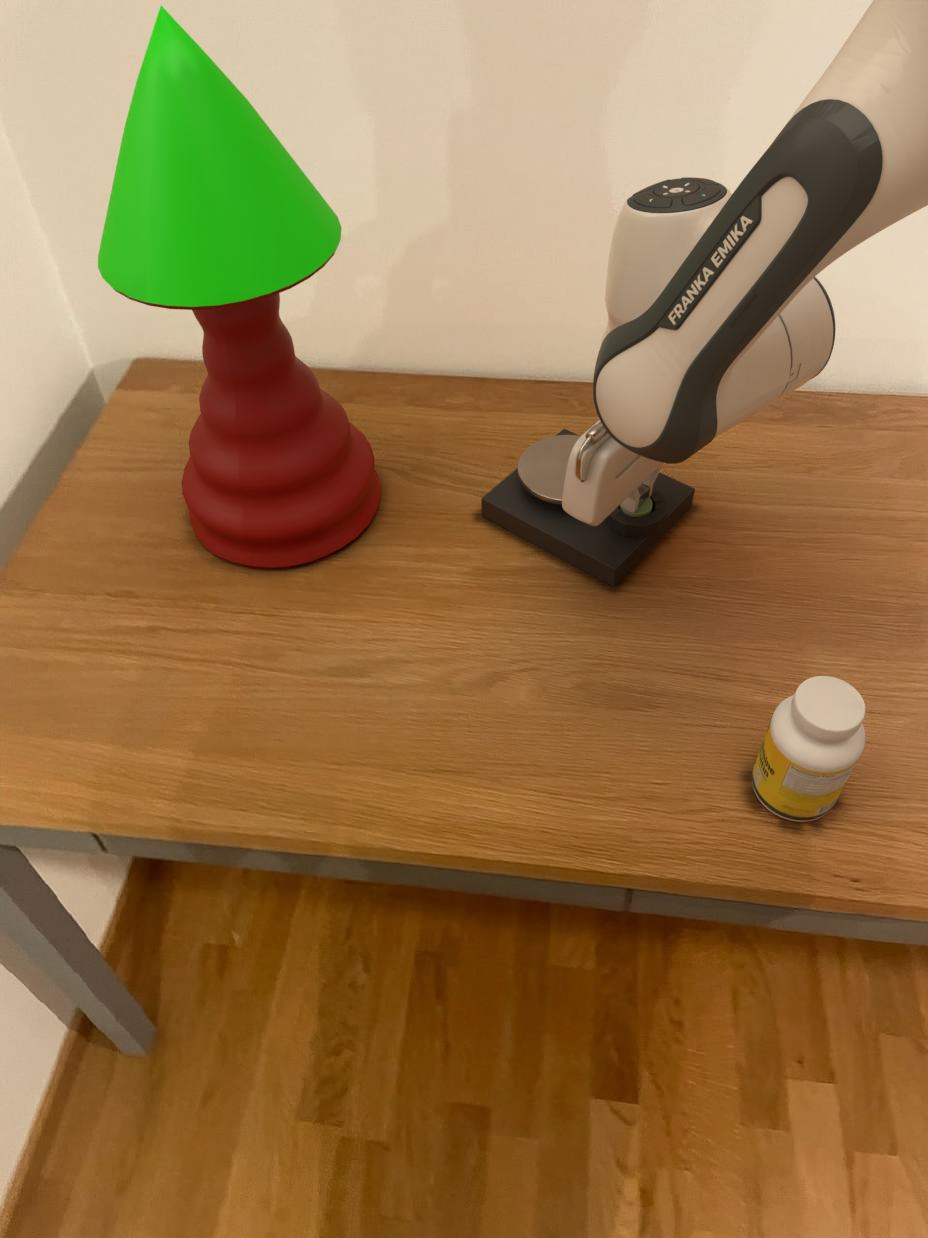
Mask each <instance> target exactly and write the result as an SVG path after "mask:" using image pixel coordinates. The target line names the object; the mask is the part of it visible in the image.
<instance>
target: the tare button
mask: <svg viewBox="0 0 928 1238" xmlns="http://www.w3.org/2000/svg"><path fill="white" fill-rule="evenodd" d="M652 505H653V503H652V500H651V499H650V498H648V499H647V500H646V501H645V502H644V503H643V504H642V505H641V506H640V507H639V508H638V509H637V510H636V511H635V512H633V513H632V512H629V511H627V510H625V509H623V508H622V507H621V506H620V511H621V512H622V513H624V514H626V515H628V516H630V517H640V518H641V517H644V516H647V515H650V514H651V512H652Z"/></svg>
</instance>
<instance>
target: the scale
mask: <svg viewBox="0 0 928 1238" xmlns="http://www.w3.org/2000/svg"><path fill="white" fill-rule="evenodd" d="M558 435H577V436H581V435H580V434H577V433H576V432H573V431H571V430H569V429H567V428H562V430H560V431H559V432H558V433H557V434H556V435H555V436H558ZM695 491H696V488H694V487H693V486H690V485H688V484H686V483H684V482H682V481H679V480H677V479H676V478H673V477H671V476H668V475H666V474H665V473H662V472H659V474H658V476H657V478H656V480H655V482H654V483H653V489H652V495H651V496H650V497H649V498H650V499H651V500H652V503H653V505H652V512H651V514H650V515H647V516H644V517H641V518H640V517H630V516H628V515H626V514H624V513H622V512H621V511H620V505H619V506H618V507H617V508H616V509H615V510H614V511H613V512H612V513H611V514H610V515H609V516H608V517H607V518H606V519H605V520H604V521H603V522H602V523H601V524H599V525H598V526H591V525H589V524H587V523H584V522H582V521H580V520H578V519H576V518H574V517H572V516H571V515H569V514H568V513H567V512H565V511H564V509H563V507H562V505H561V504H554V503H550V502H547V501H544V500H541V499H539V498H537V497H535V496H534V495H532V494H531V493H529V492H528V491H527V490H526V489H525V488H524V487H523V485H522V484H521V482H520V480H519V477H518V467H516V469H514V470H513V471H512V472H511V473H510V474H508V475H507V476H506V477H505V478H504V479H503V480H501V481H500V482H499V483H497V485H495V486H494V487H492V489H490V490H489V491H488V492H487V493H486V494H485V495H483V496H482V497H481V498H480V502H481V517H483V518H485V519H487V520H489V521H490V522H492V523H494V524H496V525H497V526H500V527H501V528H503V529H505V530H507V531H508V532H510V533H512V534H514V535H516V536H518V537H520V538H522V539H524V540H525V541H527V542H529V543H531V544H533V545H535V546H537V547H538V548H541V549H543V550H544V551H546V552H548V553H550V554H551V555H553V556H555V557H557V558H559V559H560V560H563V561H564V562H566V563H568V564H570V565H572V566H573V567H576V568H577V569H580V570H581V571H583V572H585V573H587V574H589V575H590V576H591V577H595V579H598V580H600V581H602V582H603V583H605V584H607V585H609V586H611V587H615V586H617V584H619V582H620V581H621V580H622V579H623V578H624V577H625V576H626V575H627V574H628V573H629V572H630V571H631V570H632V568H634V567H635V565H636V564H638V562H639V561H641V559H642V558H643V557H645V555H646V554H647V553H648V552H649V551H650V550H651V549H652V548H653V547H654V546H655V545H656V544H657V543H658V542H659V541H660V540H661V539H662V538H663V536H665V535H666V534H667V532H669V530H671V529H672V527H673V526H674V525H675V524H676V523H677V522H678V521H679V520H680V519H681V518H683V516H684V515H685V514H686V513H687V512H688V511H689V510H690V509H691V508H692V506H693V501H694V498H695V497H694V496H695V493H696V492H695Z"/></svg>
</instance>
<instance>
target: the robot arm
mask: <svg viewBox="0 0 928 1238" xmlns="http://www.w3.org/2000/svg"><path fill="white" fill-rule="evenodd" d="M926 207H928V0H872V2H871V3H870V5H869V6H868V7H867V9H866V11H865V12H864V13H863V15H862V17H861V18H860V19H859V21H858V22H857V24H856V26H855V27H854V28H853V30H852V31H851V33H850V35H849V36H848V37H847V39H846V41H845V42H844V43H843V45H842V46H841V48H840V49H839V50H838V52H837V54H835V57H834V58H833V59H832V61H831V62H830V64H829V66H827V68H826V69H825V70H824V71H823V73H822V74H821V76H820V78H819V79H818V81H816V83H815V84H814V86H813V87H812V88H811V89H810V91H809V92H808V94H806V96H805V97H804V99H803V100H802V101H801V103H800V105H799V106H798V107H797V108H796V110H795V111H794V112H793V114H792V115H791V117H790V118H789V120H788V121H787V123H786V124H785V126H783V128H782V129H781V131H779V133H778V134H777V135H776V137H775V138H774V140H773V141H772V143H771V144H770V145H769V147H767V149H766V150H765V151H764V153H762V155H761V157H760V158H758V160H757V162H756V163H755V164H754V165H753V166H752V168H751V169H750V170H749V171H748V173H747V174H746V175H745V176H744V178H743V179H742V180H741V182H740V183H739V184H738V186H737V187H736V189H734V191H733V193H732V192H731V191H730V190H729V188H728V187H727V186H725V185H724V184H722V183H720V182H717V181H715V180H712V179H709V178H704V177H692V176H691V177H687V176H686V177H680V178H672V179H665V180H662V181H658V182H656V183H654V184H651V185H649V186H647V187H644V188H642V189H640V190H639V191H636V192H635V193H633V194H632V195H631V196H629V197H628V198H627V199H626V200H625V201H624V203H623V205H622V207H621V209H620V211H619V213H618V216H617V219H616V221H615V226H614V229H613V234H612V238H611V242H610V248H609V255H608V262H607V271H606V278H605V279H606V282H605V290H604V291H605V294H604V302H605V303H604V304H605V309H606V312H607V324H606V327H605V330H604V332H603V334H602V339H601V343H600V347H599V351H598V353H597V357H596V361H595V366H594V372H593V379H592V380H593V381H592V382H593V383H592V389H593V390H592V396H593V403H594V407H595V411H596V414H597V416H598V419H599V420H598V421H596V422H595V423H594V424H593V425H592V426H591V427H589V428H588V429H587V430H586V431H585V432H584V433H582V435H580V436H581V437H580V438H579V439H578V440H577V442H576V443H575V445H574V446H573V448H572V451H571V453H570V456H569V460H568V464H567V470H566V475H565V481H564V488H563V496H562V507H563V509H564V511H565V512H567V513H568V514H569V515H571V516H572V517H574V518H576V519H578V520H580V521H582V522H584V523H587V524H589V525H591V526H598V525H599V524H601V523H602V522H603V521H604V520H605V519H606V518H607V517H608V516H609V515H610V514H611V513H612V512H613V511H614V510H615V509H616V508H617V507H618V506H619V505H620V506H621V507H622V508H623V509H625V510H627V511H629V512H632V513H633V512H635V511H636V510H637V509H638V508H639V507H640V506H641V505H642V504H643V503H644V502H645V501H646V500H647V499H648V498H649V497H650V496H651V495H652V489H653V483H654V482H655V480H656V478H657V476H658V474H659V472H660V471H661V470H662V467H663V466H664V464H669V465H676V464H680V463H683V462H685V461H687V460H688V459H690V458H691V457H692V456H694V455H695V454H696V453H698V452H699V451H700V450H702V449H703V448H705V447H706V446H708V445H710V444H711V443H712V442H713V441H714V439H716V438H718V437H719V436H721V435H722V434H724V433H726V432H728V431H729V430H731V429H732V428H735V427H736V426H738V425H740V424H741V423H743V422H745V421H746V420H748V419H749V418H751V417H753V416H755V415H756V414H758V413H759V412H761V411H763V410H765V409H766V408H769V406H771V405H773V404H774V403H775V402H777V401H779V400H781V399H782V398H784V397H786V396H788V395H789V394H791V393H792V392H794V391H796V390H797V389H799V388H801V387H802V386H804V385H805V384H807V383H808V382H809V381H811V380H812V379H815V378H816V377H818V376H819V375H820V374H821V372H822V371H824V369H825V368H826V366H827V365H828V363H829V361H830V359H831V356H832V354H833V350H834V347H835V340H836V316H835V311H834V307H833V304H832V301H831V298H830V295H829V294H828V291H827V290H826V288H825V287H824V285H823V284H822V283H821V282H820V280H819V279H818V278H817V275H819V274H820V273H821V272H822V271H824V270H825V269H826V268H827V267H828V266H830V265H831V264H832V263H834V262H835V261H836V260H838V259H839V258H841V257H842V256H844V255H845V254H846V253H848V252H849V251H851V250H853V249H854V248H855V247H857V246H858V245H860V244H862V243H863V242H865V241H867V240H868V239H870V238H871V237H873V236H875V235H876V234H878V233H880V232H882V231H884V230H885V229H887V228H889V227H891V226H892V225H894V224H896V223H898V222H900V221H901V220H903V219H905V218H907V217H909V216H911V215H912V214H914V213H917V212H918V211H921V210H922V209H923V208H926ZM660 473H661V472H660Z"/></svg>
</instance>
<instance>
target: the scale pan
mask: <svg viewBox="0 0 928 1238" xmlns="http://www.w3.org/2000/svg"><path fill="white" fill-rule="evenodd" d="M577 435H578V434H577ZM577 435H558V436H556V435H553V436H548V437H545V438H541V439H539V440H537V441H535V442H533V443H532V444H531V445H529V446H528V447H526V449H525V450H523V452H522V453H521V455H520V457H519V458H518V461H517V468H518V477H519V480H520V482H521V484H522V485H523V487H524V488H525V489H526V490H527V491H528V492H529V493H531V494H532V495H534V496H535V497H537V498H539V499H541V500H544V501H547V502H550V503H554V504H561V505H562V496H563V488H564V481H565V475H566V470H567V464H568V460H569V456H570V453H571V451H572V448H573V446H574V445H575V443H576V442H577V440H578V439H579V438H580V437H581V436H582V435H580V436H577Z"/></svg>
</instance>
